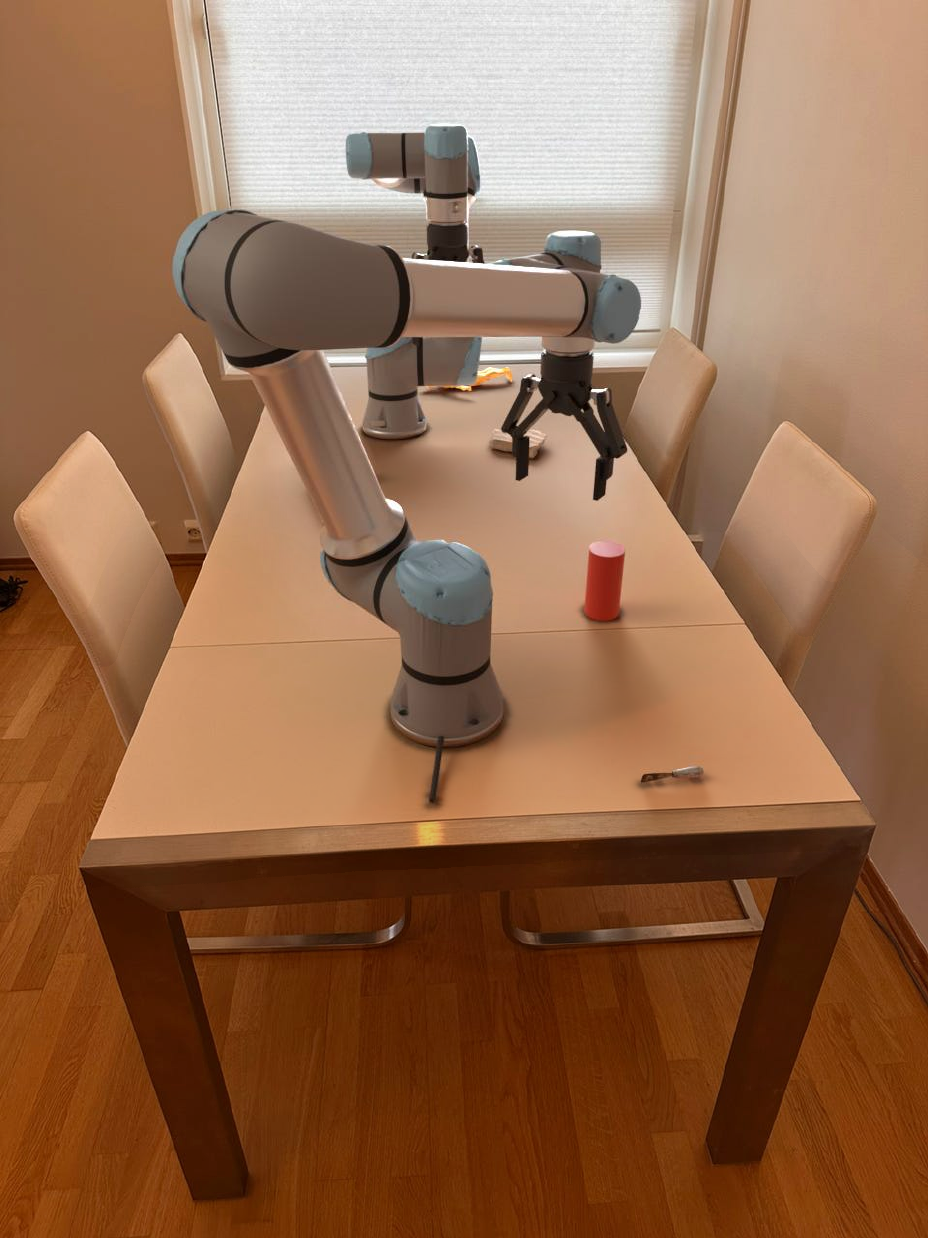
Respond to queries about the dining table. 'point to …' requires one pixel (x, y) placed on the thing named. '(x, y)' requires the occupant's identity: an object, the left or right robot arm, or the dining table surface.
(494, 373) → the human figure
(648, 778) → the putty knife
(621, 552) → the can
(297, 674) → the dining table surface
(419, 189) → the left robot arm
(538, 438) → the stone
